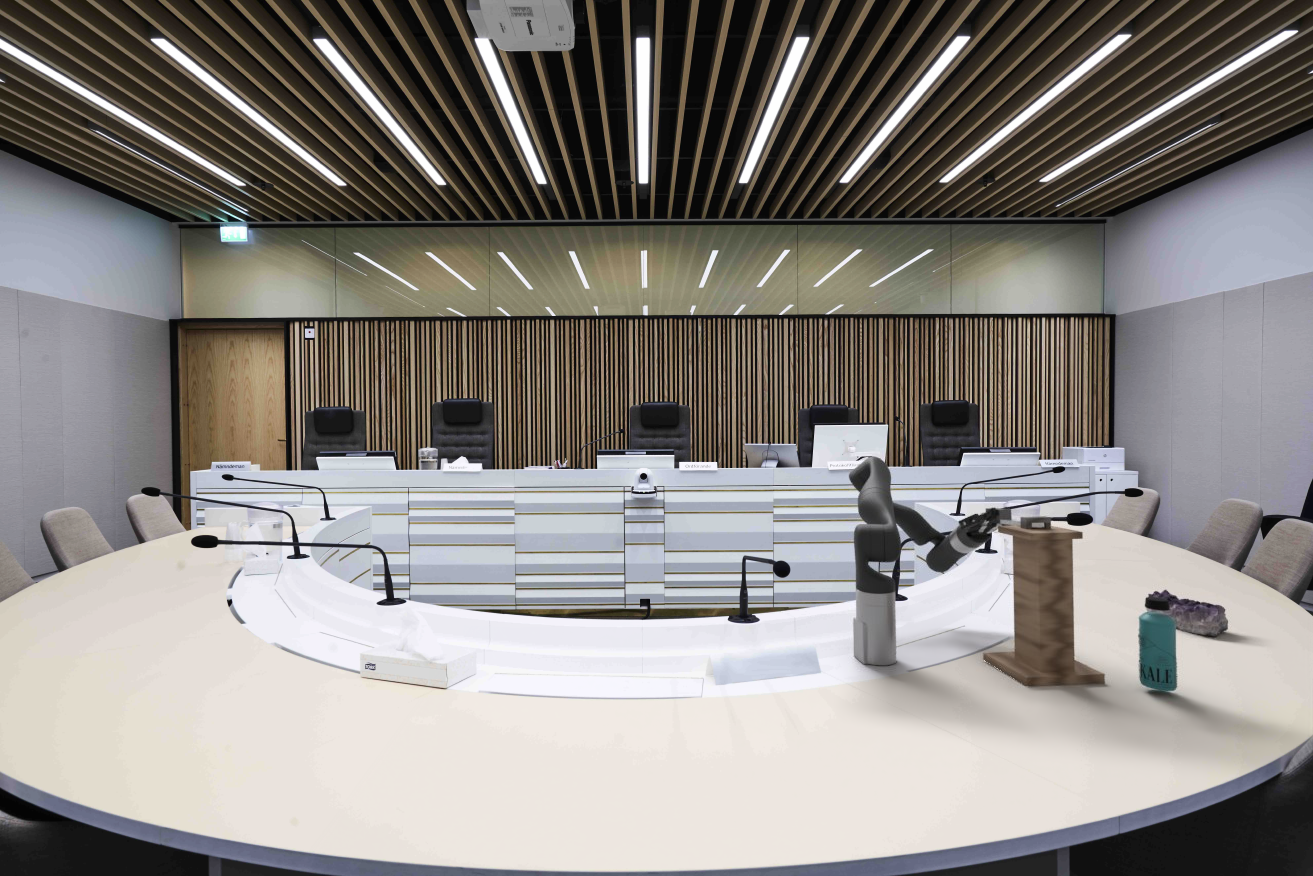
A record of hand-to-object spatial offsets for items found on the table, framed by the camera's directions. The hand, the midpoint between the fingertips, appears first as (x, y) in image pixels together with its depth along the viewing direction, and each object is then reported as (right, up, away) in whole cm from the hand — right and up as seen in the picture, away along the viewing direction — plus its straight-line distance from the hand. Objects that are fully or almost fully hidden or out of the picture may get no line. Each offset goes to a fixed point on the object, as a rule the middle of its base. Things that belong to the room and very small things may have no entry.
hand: (1002, 510), depth 160 cm
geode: (+61, -35, +18) cm, 73 cm away
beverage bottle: (+18, -36, -27) cm, 48 cm away
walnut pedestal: (+1, -36, -14) cm, 38 cm away
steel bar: (0, -3, -6) cm, 6 cm away
